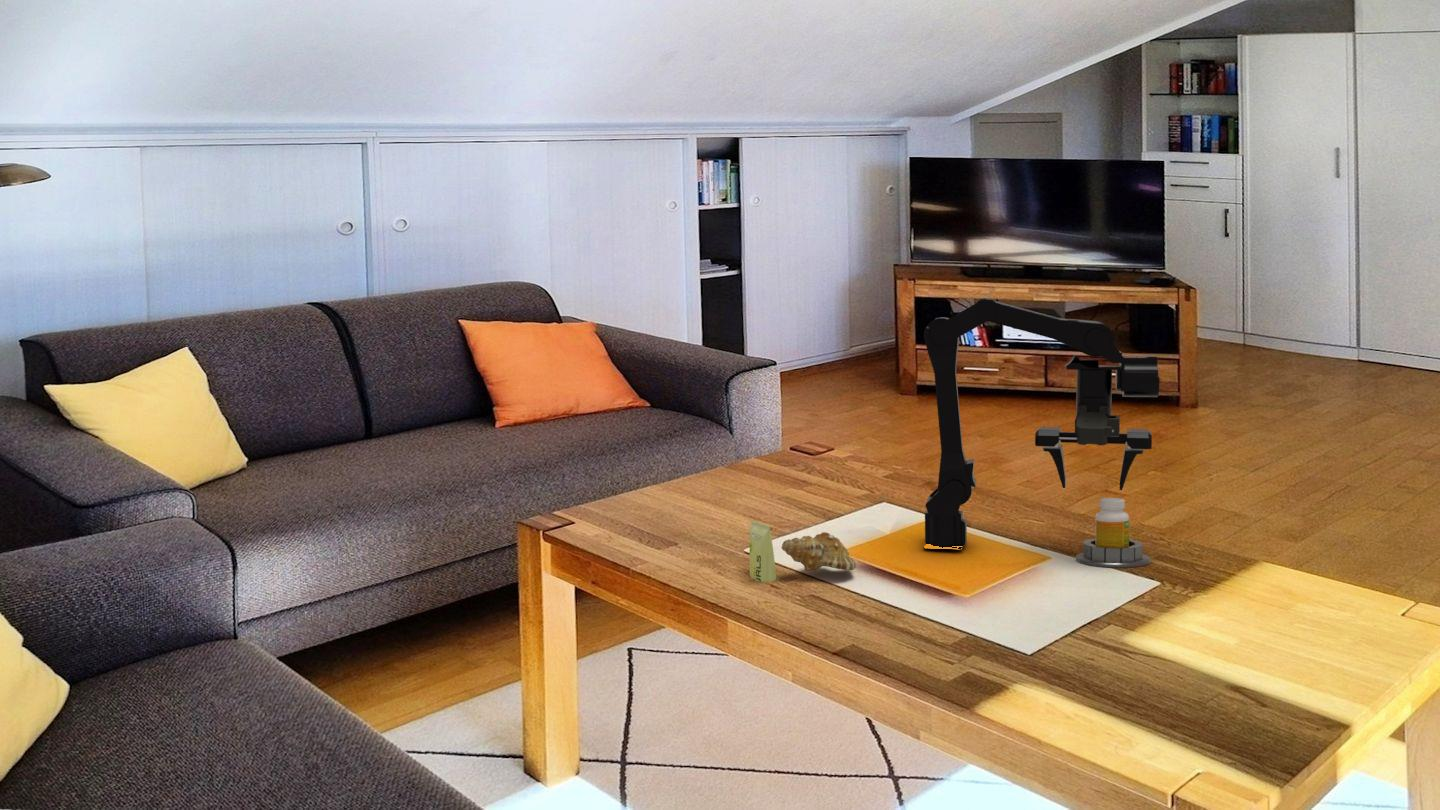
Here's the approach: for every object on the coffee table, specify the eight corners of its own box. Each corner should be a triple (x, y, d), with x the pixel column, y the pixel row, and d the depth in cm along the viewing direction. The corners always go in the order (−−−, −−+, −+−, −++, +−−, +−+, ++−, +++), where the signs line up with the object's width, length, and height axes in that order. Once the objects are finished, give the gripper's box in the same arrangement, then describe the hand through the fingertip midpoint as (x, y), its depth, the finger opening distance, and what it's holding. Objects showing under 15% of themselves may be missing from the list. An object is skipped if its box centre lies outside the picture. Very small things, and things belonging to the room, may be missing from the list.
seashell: (826, 595, 215) (793, 543, 214) (803, 596, 222) (771, 545, 221) (867, 562, 219) (835, 511, 218) (842, 563, 226) (811, 514, 225)
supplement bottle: (1130, 560, 221) (1130, 502, 220) (1096, 560, 222) (1096, 502, 222) (1127, 554, 227) (1127, 497, 226) (1094, 553, 228) (1094, 496, 227)
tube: (742, 642, 221) (737, 524, 219) (755, 634, 225) (750, 519, 224) (774, 644, 218) (769, 525, 217) (786, 637, 223) (782, 520, 221)
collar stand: (1074, 566, 220) (1074, 549, 220) (1076, 552, 232) (1076, 535, 232) (1151, 569, 217) (1151, 551, 217) (1149, 554, 229) (1149, 537, 228)
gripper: (1033, 399, 221) (1032, 494, 222) (1153, 401, 215) (1151, 498, 217) (1037, 394, 231) (1036, 484, 233) (1152, 395, 226) (1150, 488, 227)
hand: (1092, 488), depth 227 cm, fingers open, 9 cm apart
